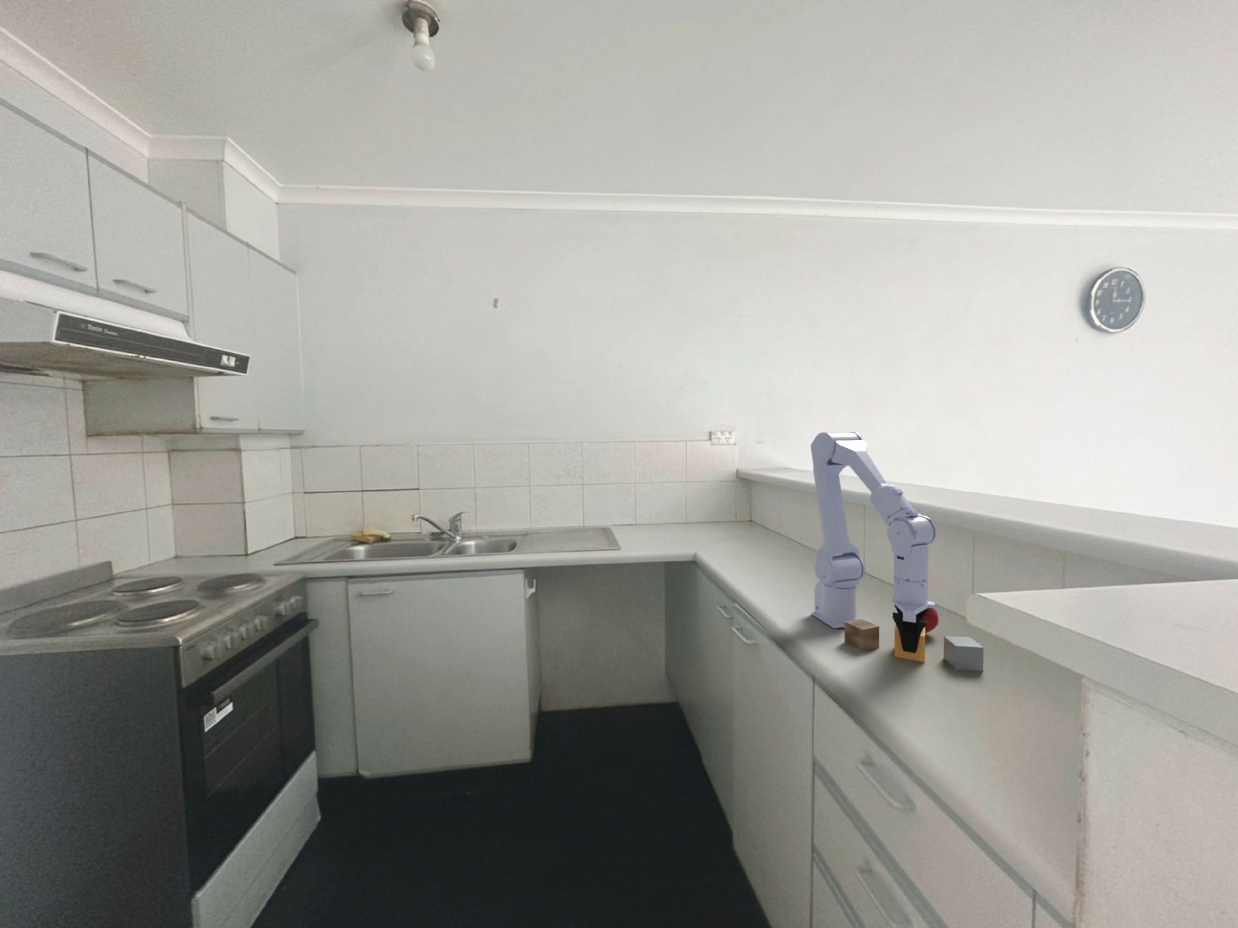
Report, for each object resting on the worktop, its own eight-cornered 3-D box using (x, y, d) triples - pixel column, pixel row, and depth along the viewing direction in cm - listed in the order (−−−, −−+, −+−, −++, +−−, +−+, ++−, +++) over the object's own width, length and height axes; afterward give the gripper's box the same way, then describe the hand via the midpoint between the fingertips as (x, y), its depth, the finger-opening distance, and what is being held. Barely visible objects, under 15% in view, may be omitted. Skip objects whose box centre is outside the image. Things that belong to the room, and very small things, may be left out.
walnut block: (844, 642, 100) (844, 621, 99) (861, 639, 101) (861, 618, 101) (862, 651, 95) (862, 629, 95) (879, 647, 97) (879, 626, 97)
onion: (943, 640, 100) (943, 602, 99) (913, 638, 101) (913, 601, 100) (931, 629, 105) (931, 593, 105) (902, 627, 106) (902, 592, 106)
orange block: (895, 646, 97) (895, 622, 97) (924, 652, 94) (925, 627, 94) (894, 656, 93) (894, 631, 93) (924, 662, 90) (925, 636, 90)
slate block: (943, 658, 92) (943, 635, 91) (969, 660, 91) (970, 637, 90) (955, 669, 87) (955, 645, 87) (983, 671, 86) (983, 647, 86)
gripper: (935, 591, 85) (934, 665, 85) (934, 571, 97) (933, 637, 97) (890, 585, 88) (889, 656, 89) (894, 567, 101) (893, 630, 101)
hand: (909, 646), depth 93 cm, fingers closed on orange block, 5 cm apart
